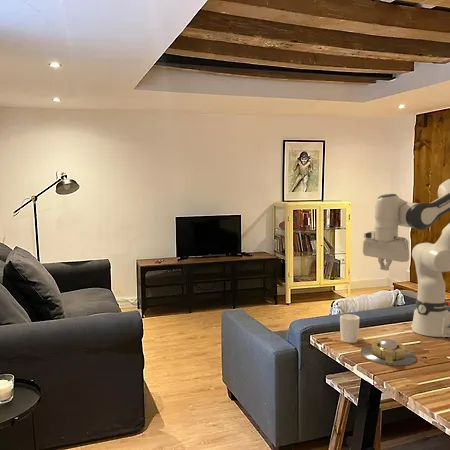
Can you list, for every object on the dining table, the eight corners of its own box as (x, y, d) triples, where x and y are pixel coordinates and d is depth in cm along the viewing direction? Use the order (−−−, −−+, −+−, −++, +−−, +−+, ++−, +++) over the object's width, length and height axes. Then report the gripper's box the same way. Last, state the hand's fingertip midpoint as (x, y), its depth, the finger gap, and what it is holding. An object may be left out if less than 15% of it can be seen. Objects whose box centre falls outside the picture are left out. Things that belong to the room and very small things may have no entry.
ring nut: (371, 346, 183) (372, 336, 183) (404, 349, 180) (404, 339, 179) (371, 361, 168) (371, 350, 168) (406, 365, 165) (407, 354, 164)
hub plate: (384, 343, 190) (385, 330, 189) (428, 359, 173) (428, 345, 172) (349, 352, 179) (349, 338, 179) (391, 369, 162) (392, 354, 162)
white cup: (359, 344, 189) (360, 320, 188) (339, 342, 190) (340, 318, 189) (358, 337, 196) (358, 314, 195) (338, 336, 198) (339, 313, 197)
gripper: (413, 237, 175) (412, 273, 176) (371, 232, 192) (370, 265, 193) (402, 238, 171) (401, 275, 173) (360, 233, 189) (359, 266, 190)
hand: (384, 270), depth 183 cm, fingers closed
